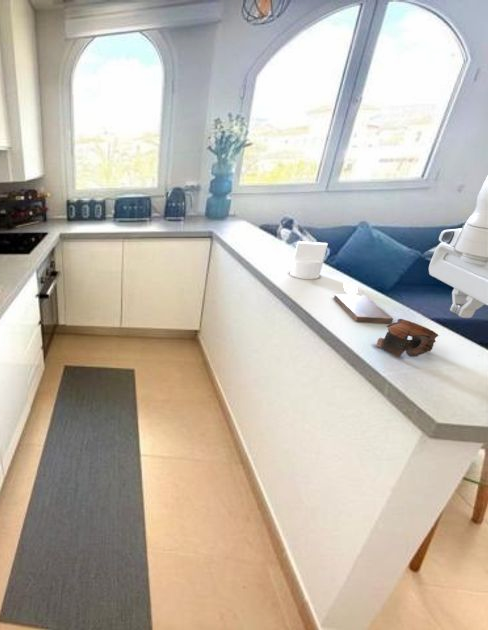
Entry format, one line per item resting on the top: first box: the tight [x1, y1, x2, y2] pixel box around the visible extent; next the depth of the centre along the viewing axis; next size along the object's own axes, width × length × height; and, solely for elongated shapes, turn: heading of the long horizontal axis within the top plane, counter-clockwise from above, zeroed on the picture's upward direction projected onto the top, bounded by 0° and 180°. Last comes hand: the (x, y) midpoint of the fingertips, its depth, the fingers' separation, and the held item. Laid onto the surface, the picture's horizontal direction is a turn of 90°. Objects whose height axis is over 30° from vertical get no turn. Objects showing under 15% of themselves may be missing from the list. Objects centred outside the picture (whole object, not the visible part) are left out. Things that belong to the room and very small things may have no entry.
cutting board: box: [333, 293, 394, 324], centre depth 99 cm, size 8×16×2 cm, turn 163°
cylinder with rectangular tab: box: [289, 240, 329, 280], centre depth 124 cm, size 9×9×12 cm
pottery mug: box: [375, 318, 439, 358], centre depth 79 cm, size 12×10×8 cm
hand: (460, 314), depth 65 cm, fingers closed
